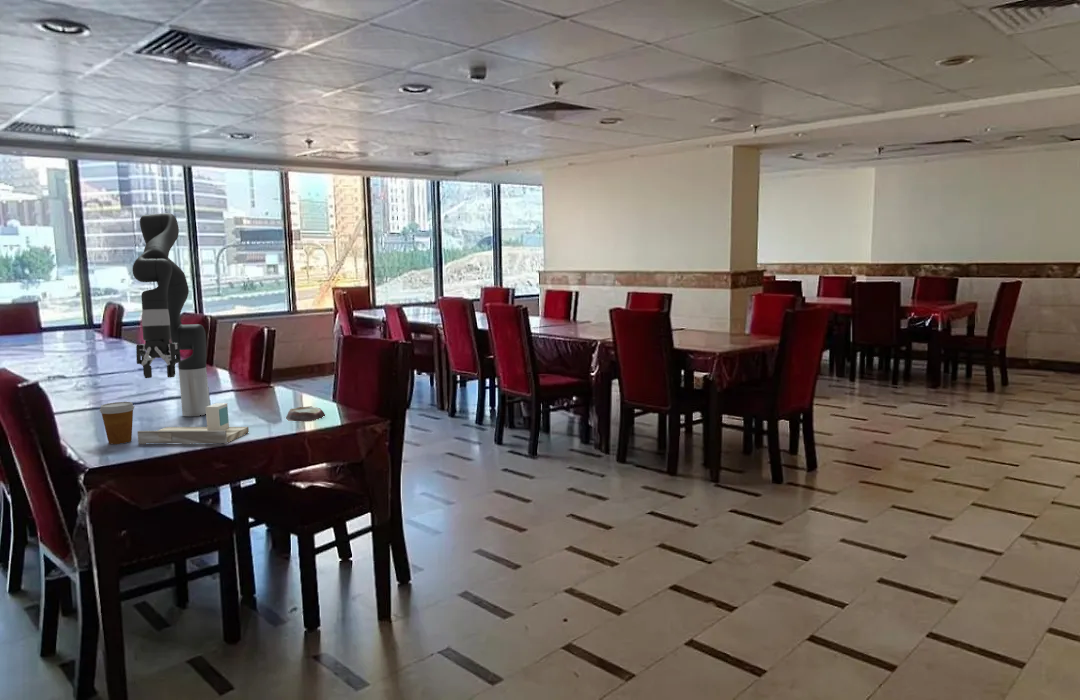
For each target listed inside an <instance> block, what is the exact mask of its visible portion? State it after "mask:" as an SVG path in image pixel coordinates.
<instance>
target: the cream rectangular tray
mask: <svg viewBox="0 0 1080 700" xmlns="http://www.w3.org/2000/svg"><path fill="white" fill-rule="evenodd" d="M249 430H250V429H249V426H229V428H227V429H225V430H223V431H207V426H165V427H163V428H160V429H157V430H137V432H136V433H137V442H138V445H147V444H146V443H182V444H181V445H194V444H193V443H227V442H229V443H231V442H233V441H235V440H237V439H239V438H241V437H243V436H245V435H247V434H246V433H248V432H249ZM249 433H250V432H249ZM249 433H248V434H249ZM244 434H245V435H244ZM242 435H243V436H242ZM240 436H241V437H240ZM238 437H239V438H238ZM236 438H237V439H236ZM234 439H235V440H234ZM232 440H233V441H232ZM230 441H231V442H230ZM190 443H191V444H190ZM227 444H228V443H227Z"/></svg>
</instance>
